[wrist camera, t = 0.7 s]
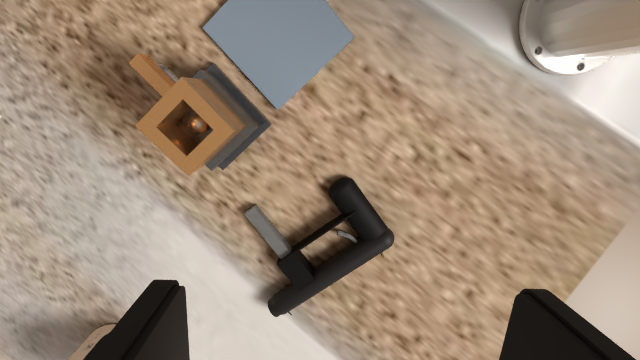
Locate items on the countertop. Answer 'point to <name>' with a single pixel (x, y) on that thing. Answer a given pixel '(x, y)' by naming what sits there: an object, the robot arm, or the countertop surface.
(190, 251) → the countertop surface
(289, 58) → the rubber pad
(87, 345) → the teacup with lid
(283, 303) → the door handle
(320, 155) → the countertop surface
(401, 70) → the countertop surface
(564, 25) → the robot arm
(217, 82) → the grey block
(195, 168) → the wooden hollow block
